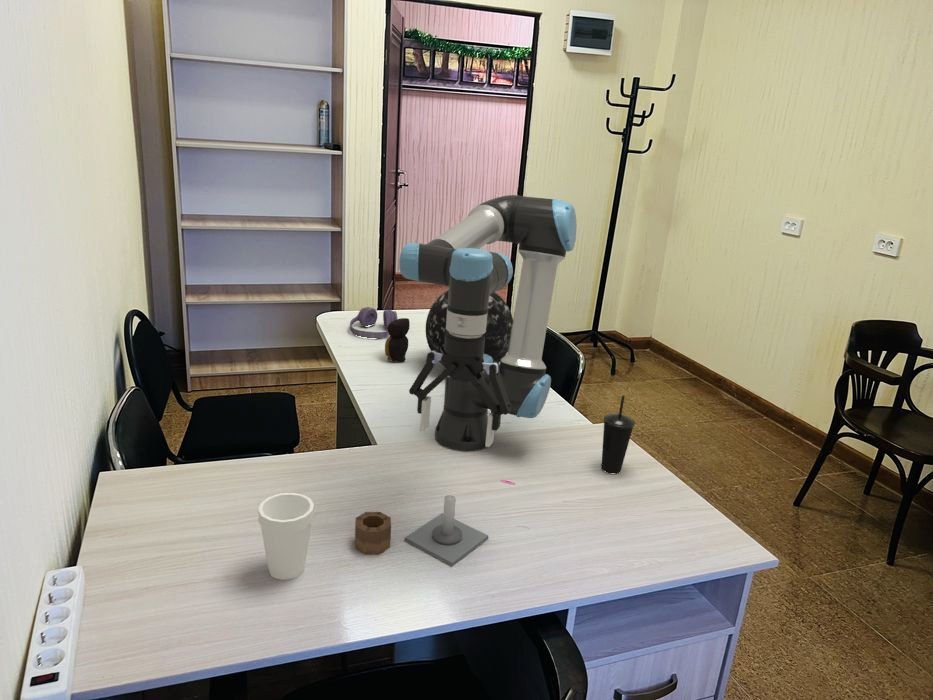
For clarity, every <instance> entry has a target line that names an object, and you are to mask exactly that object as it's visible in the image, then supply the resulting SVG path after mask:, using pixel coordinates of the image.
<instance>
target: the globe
mask: <svg viewBox="0 0 933 700" xmlns="http://www.w3.org/2000/svg"><path fill="white" fill-rule="evenodd" d="M448 293H449V289H448V290H445V291H444V292H443V293H442V294H441V295H440V296H438V297H437V298H436V300H435V301H434V302H433V304H432V305H431V307H430V309H429V311H428V314H427V317H426V321H425V338H426V342H427V345H428V347H429V350H430V352H431V351H433V350H437V351H438V353H440V354H444V342H445V333H446V332H447V330H446V318H447V305H448ZM513 318H514V317H513V314H512V312H511V310H510V307H509V306H508V304H507V303H506V301H505V300H504V298H502V296H500V295H499V294H498V293H497V292H494V293H491V294H490V295H489V303H488V313H487V324H486V332H485V333H484V334H483V335H484V336H485V345H484V354H487V355H489V356H491V357H492V359H493V363H494V362H498V363H499V364H500V360H501V359H502V358H503V357H504V356H506V355H507V354H508V349H509V343H510V336H511V330H512V324H513ZM438 363H440V364H441V365H443V364H442V362H441V360H439V362H438Z"/></svg>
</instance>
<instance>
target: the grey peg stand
mask: <svg viewBox="0 0 933 700" xmlns="http://www.w3.org/2000/svg"><path fill="white" fill-rule="evenodd" d="M456 500H457V497H456V496H455V495H453V494H447V495H445V496H444V500H443V501H444V503H443V512H442V513H440V514H438V515H437V516H435V517H434V518H432V519H431V520H429V521H428V522H426V523H425V524H423V525H421V526H419V527H418V528H417V529H415V530H414V531H412V532H411V533H409V534H408V535H406V536H405V537H404V542H407V543H408V544H410V545H412V547H413V546H414V547H416V548H417V549H418V550H421V551H423V552H424V553H427V554H428V555H430V556H432V557H434V558H435V559H437V560H440V561H441V562H443V563H445V564H447V565H449V566H450V567H453V566H455V565H456V564H458V563H459V562H461V560H462V559H464V558H465V557H466V556H468V555H469V554H471V553H472V552H473V551H475V550H476V549H478V547H480V546H481V545H483V543H485V542H486V541H487V540H489V535H488V534H486V533H484V532H482V531H481V530H478V529H476V528H474V527H472V526H470V525H468V524H466V523H465V522H461V521H460V520H458V519H456V518H455V515H456V514H455V512H456Z"/></svg>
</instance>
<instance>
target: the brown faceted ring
mask: <svg viewBox="0 0 933 700" xmlns="http://www.w3.org/2000/svg"><path fill="white" fill-rule="evenodd" d="M354 520H355V523H354V524H355V525H354V526H355V528H354V530H355V531H354V549H355V550H357V551H358V552H361V553H362V554H364V555H381V554H382V553H384V552H385V551H387V550H389V549H390V548H391V535H392V521H391V520H392V519H391V516H389V515H387V514H386V513H383V512H381V511H365V512H364V513H361V514H360V515H358V516H356V517H355V519H354Z"/></svg>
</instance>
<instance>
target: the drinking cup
mask: <svg viewBox="0 0 933 700" xmlns="http://www.w3.org/2000/svg"><path fill="white" fill-rule="evenodd" d="M625 397H626V396H625V395H622V396H621V399H620V405H619V410H618V411H619V412H618V413H609V414H606V415H604V416H603V419H602V420H603V422H604V423H603V433H602V434H603V436H602V451H601V453H602V454H601V470H602V469H603V470H604V471H606V472H608V473H607V474H609V473H616V474H615V475H618V474H620V473H621V472H622V467H623V465H624V461H625V457H626V453H627V450H628V446H629V443H630V439H631V435H632V432H633V429H634V427H635V425H636V422H635V420H634V419H633V418H631V417H630V416H627V415H626V414H623V410H624V409H623V408H624V404H625ZM603 470H602V471H603ZM604 471H603V472H604ZM620 471H621V472H620ZM606 472H605V473H606ZM619 472H620V473H619ZM617 473H618V474H617Z"/></svg>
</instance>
